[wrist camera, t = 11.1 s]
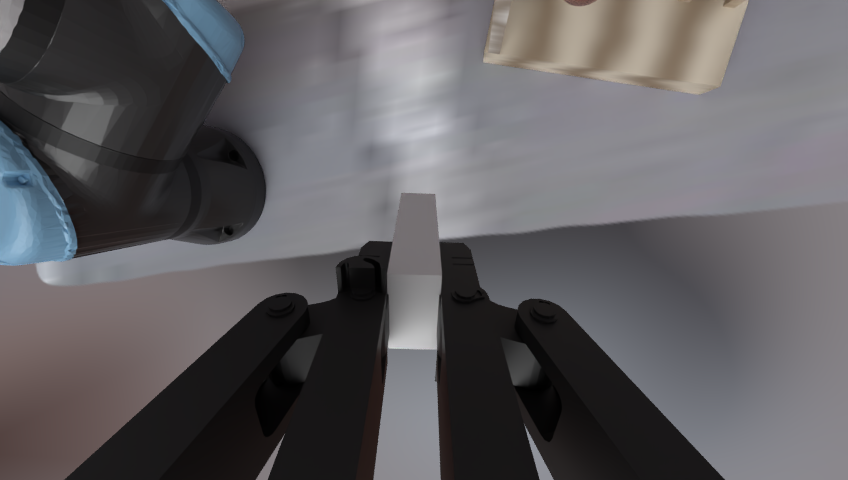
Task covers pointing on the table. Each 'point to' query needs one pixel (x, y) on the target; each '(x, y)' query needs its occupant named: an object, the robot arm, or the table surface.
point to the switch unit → (619, 40)
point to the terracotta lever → (579, 2)
